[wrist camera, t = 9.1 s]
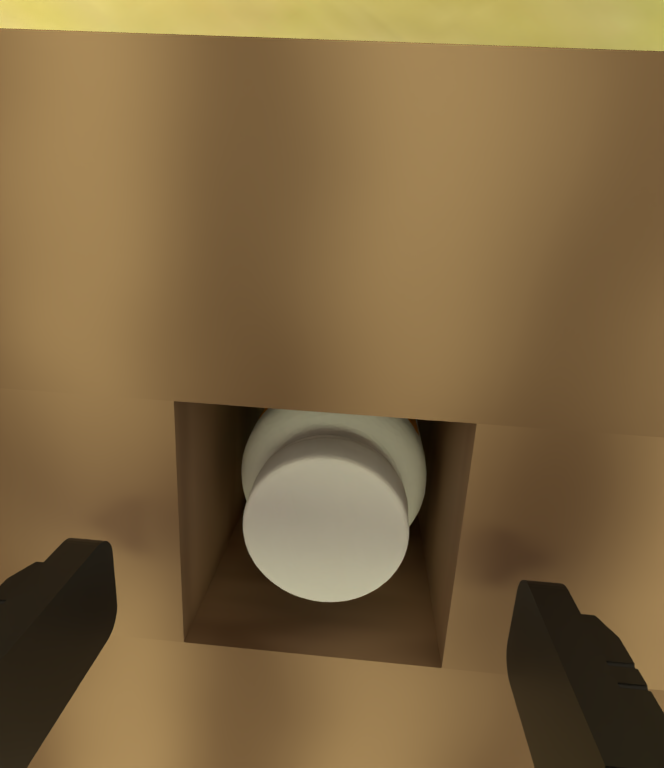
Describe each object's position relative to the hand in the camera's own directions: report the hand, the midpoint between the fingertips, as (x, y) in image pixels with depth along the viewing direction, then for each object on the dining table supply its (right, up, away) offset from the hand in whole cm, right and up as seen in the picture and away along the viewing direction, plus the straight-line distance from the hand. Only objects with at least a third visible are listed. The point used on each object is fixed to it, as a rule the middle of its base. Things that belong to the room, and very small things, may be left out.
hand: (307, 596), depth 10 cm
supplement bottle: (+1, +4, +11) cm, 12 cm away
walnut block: (+1, +4, +12) cm, 13 cm away
